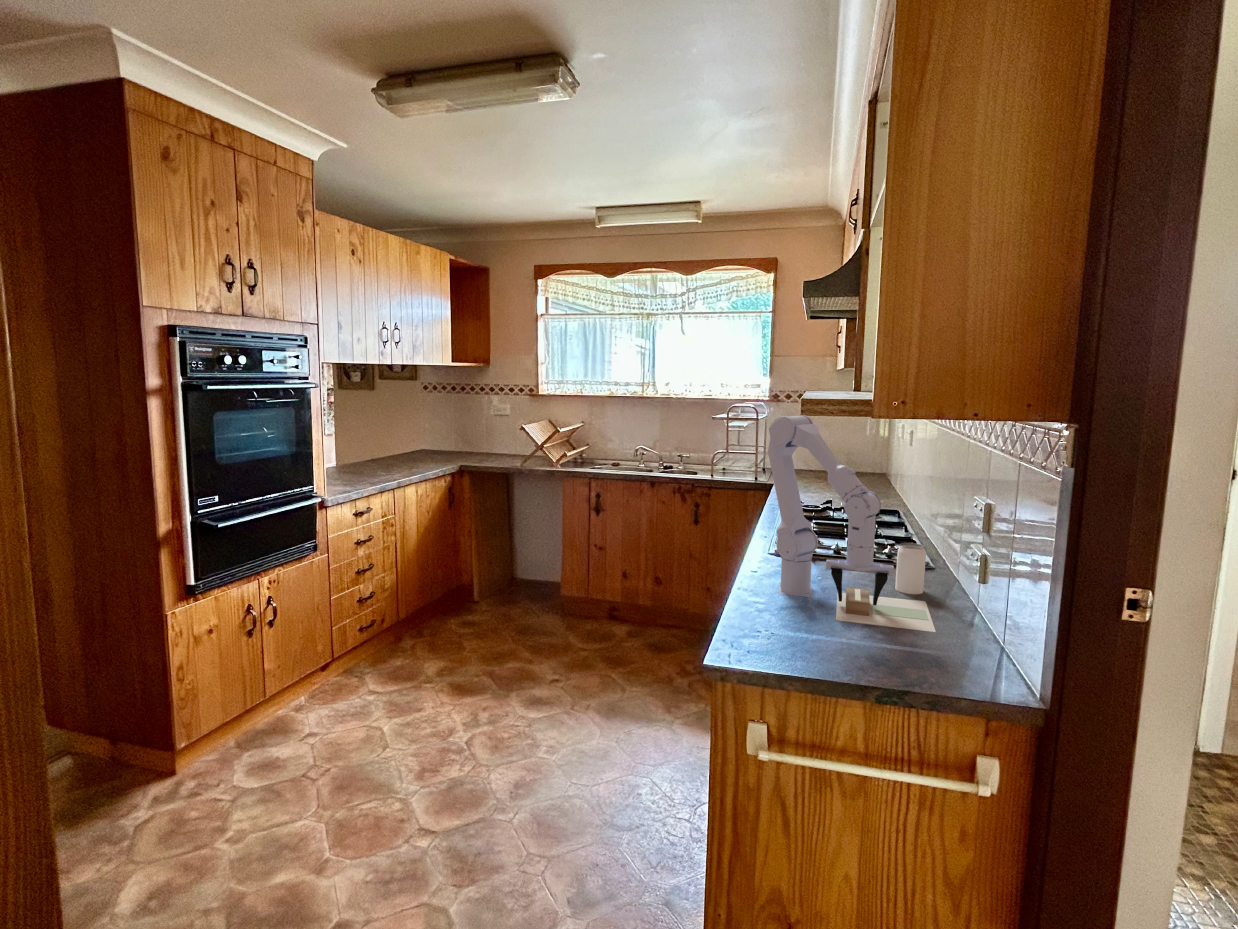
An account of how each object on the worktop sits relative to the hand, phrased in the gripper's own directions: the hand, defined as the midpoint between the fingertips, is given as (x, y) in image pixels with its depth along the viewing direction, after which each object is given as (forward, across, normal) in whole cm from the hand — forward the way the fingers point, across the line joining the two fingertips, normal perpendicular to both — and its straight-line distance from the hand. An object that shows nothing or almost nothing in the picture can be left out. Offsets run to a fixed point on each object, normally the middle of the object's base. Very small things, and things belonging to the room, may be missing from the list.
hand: (857, 602), depth 153 cm
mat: (+2, +6, 0) cm, 6 cm away
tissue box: (+1, 0, 0) cm, 1 cm away
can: (+2, +12, +18) cm, 22 cm away
